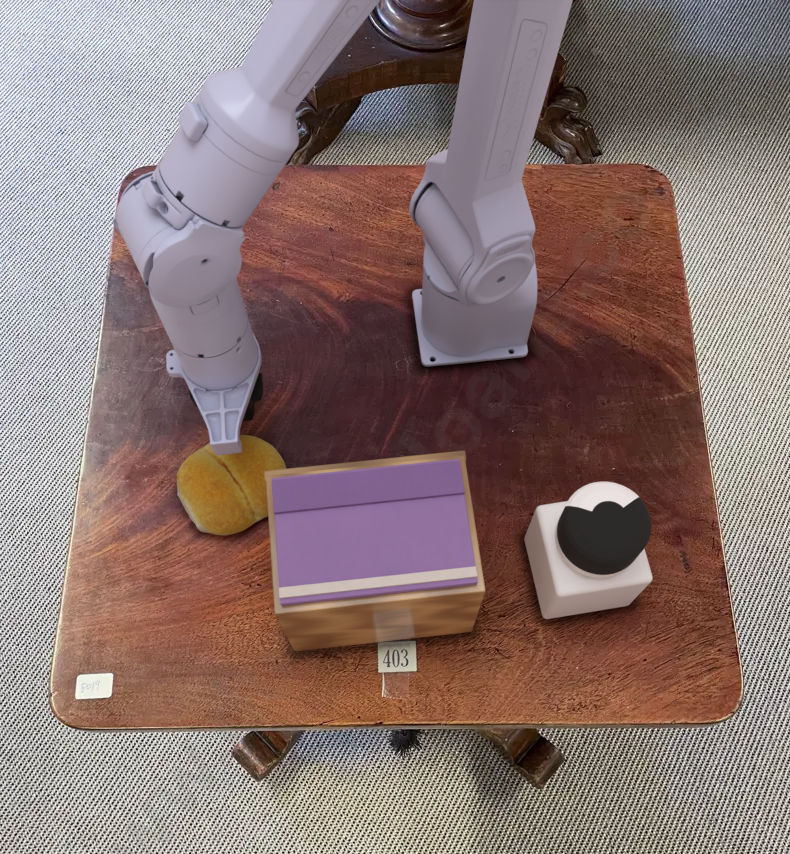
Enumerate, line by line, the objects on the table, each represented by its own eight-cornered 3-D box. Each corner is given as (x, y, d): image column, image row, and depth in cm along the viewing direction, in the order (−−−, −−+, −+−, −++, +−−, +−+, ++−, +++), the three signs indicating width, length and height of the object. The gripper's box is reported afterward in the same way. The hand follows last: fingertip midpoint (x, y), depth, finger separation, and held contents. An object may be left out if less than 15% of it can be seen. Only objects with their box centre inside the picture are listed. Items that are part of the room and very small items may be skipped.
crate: (455, 509, 71) (465, 449, 60) (473, 631, 67) (487, 591, 57) (284, 527, 71) (263, 470, 60) (292, 651, 67) (272, 614, 56)
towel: (458, 462, 60) (459, 456, 59) (477, 584, 57) (478, 580, 56) (273, 481, 60) (271, 476, 59) (281, 606, 56) (279, 602, 56)
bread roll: (306, 498, 72) (301, 479, 68) (212, 554, 70) (202, 537, 66) (256, 424, 74) (249, 402, 70) (164, 476, 72) (152, 456, 69)
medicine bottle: (630, 606, 68) (675, 559, 57) (542, 621, 68) (570, 576, 57) (607, 523, 71) (646, 462, 59) (522, 536, 70) (546, 478, 59)
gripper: (148, 244, 63) (191, 345, 75) (151, 420, 57) (196, 497, 70) (245, 235, 63) (271, 337, 76) (256, 409, 58) (282, 488, 70)
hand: (240, 414), depth 73 cm, fingers closed
